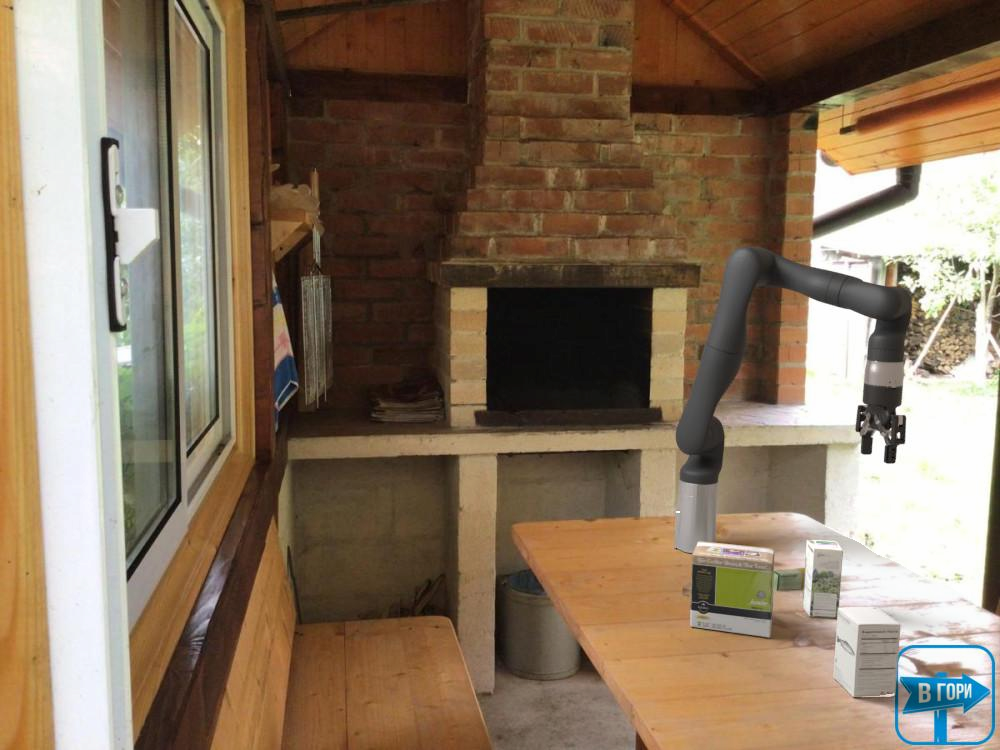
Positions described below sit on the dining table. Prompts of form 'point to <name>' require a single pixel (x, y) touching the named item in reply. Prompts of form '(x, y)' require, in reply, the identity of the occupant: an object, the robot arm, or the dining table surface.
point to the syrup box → (822, 578)
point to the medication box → (789, 579)
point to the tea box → (732, 588)
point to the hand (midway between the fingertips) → (877, 458)
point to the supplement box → (866, 651)
